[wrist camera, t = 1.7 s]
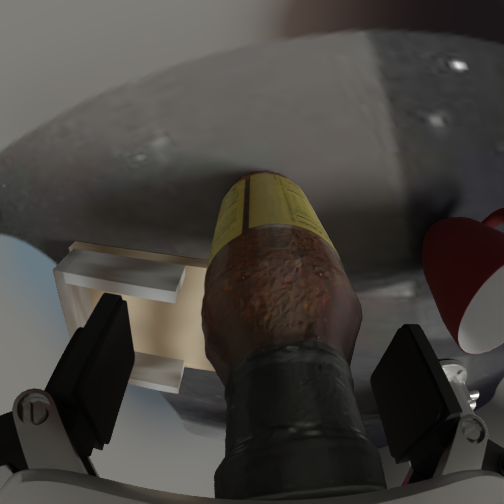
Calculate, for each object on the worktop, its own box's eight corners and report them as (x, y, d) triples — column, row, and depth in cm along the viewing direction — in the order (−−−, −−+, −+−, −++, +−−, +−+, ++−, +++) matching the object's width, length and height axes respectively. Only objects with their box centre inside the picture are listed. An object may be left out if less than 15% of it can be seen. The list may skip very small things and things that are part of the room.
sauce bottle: (241, 256, 25) (216, 537, 7) (208, 185, 22) (84, 478, 4) (321, 230, 23) (412, 508, 6) (296, 153, 21) (438, 441, 3)
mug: (462, 154, 20) (548, 198, 11) (501, 213, 22) (569, 268, 13) (383, 248, 24) (436, 329, 15) (432, 292, 26) (480, 367, 17)
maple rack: (281, 270, 25) (285, 306, 21) (258, 367, 31) (258, 404, 27) (75, 241, 24) (48, 268, 20) (94, 339, 30) (78, 370, 26)
